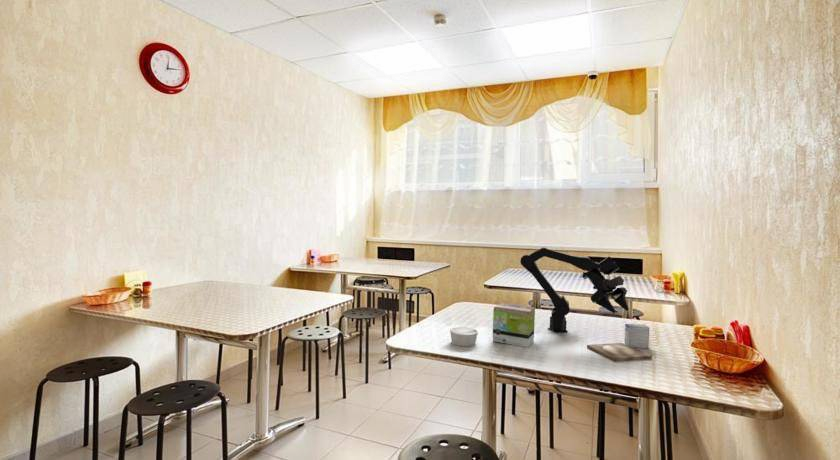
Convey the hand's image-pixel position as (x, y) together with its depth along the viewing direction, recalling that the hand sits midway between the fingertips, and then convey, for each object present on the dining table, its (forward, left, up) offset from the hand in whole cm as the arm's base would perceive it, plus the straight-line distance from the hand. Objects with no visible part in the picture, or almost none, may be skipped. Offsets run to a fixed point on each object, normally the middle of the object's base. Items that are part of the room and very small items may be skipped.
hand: (621, 311), depth 177 cm
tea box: (-45, +8, -13) cm, 48 cm away
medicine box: (+2, -7, -13) cm, 15 cm away
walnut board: (-11, -13, -13) cm, 21 cm away
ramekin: (-66, +10, -13) cm, 68 cm away
